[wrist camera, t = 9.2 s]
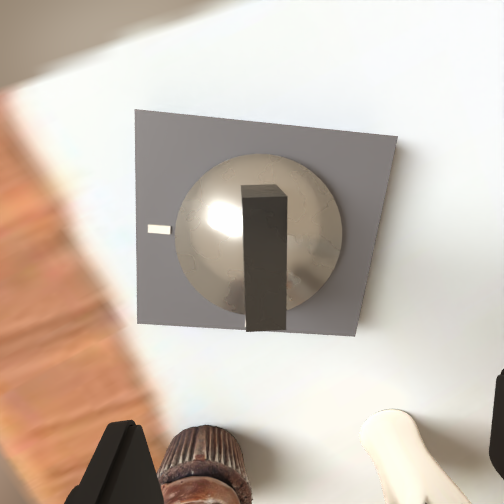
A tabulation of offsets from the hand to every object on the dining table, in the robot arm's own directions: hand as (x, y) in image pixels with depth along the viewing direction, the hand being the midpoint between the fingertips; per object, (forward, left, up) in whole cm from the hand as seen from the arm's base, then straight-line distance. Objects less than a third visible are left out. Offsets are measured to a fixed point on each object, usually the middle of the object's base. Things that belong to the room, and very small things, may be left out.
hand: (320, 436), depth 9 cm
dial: (+1, -1, -18) cm, 18 cm away
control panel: (+1, -1, -21) cm, 21 cm away
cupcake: (+4, +24, -21) cm, 32 cm away
